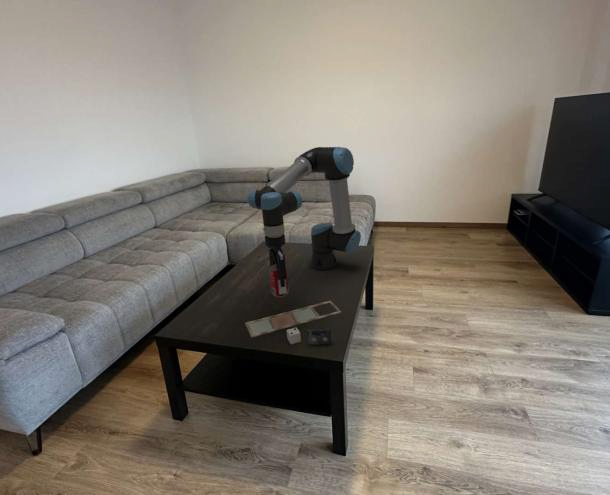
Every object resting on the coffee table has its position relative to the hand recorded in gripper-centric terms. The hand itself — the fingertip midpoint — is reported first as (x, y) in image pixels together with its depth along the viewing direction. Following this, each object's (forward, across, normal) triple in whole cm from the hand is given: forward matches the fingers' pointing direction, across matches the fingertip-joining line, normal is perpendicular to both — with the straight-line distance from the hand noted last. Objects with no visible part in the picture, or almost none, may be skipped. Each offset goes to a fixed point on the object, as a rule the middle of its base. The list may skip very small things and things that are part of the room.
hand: (279, 289), depth 140 cm
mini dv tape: (+15, +20, +8) cm, 26 cm away
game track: (+15, 0, +5) cm, 16 cm away
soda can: (+2, 0, 0) cm, 2 cm away
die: (+15, +14, 0) cm, 21 cm away
